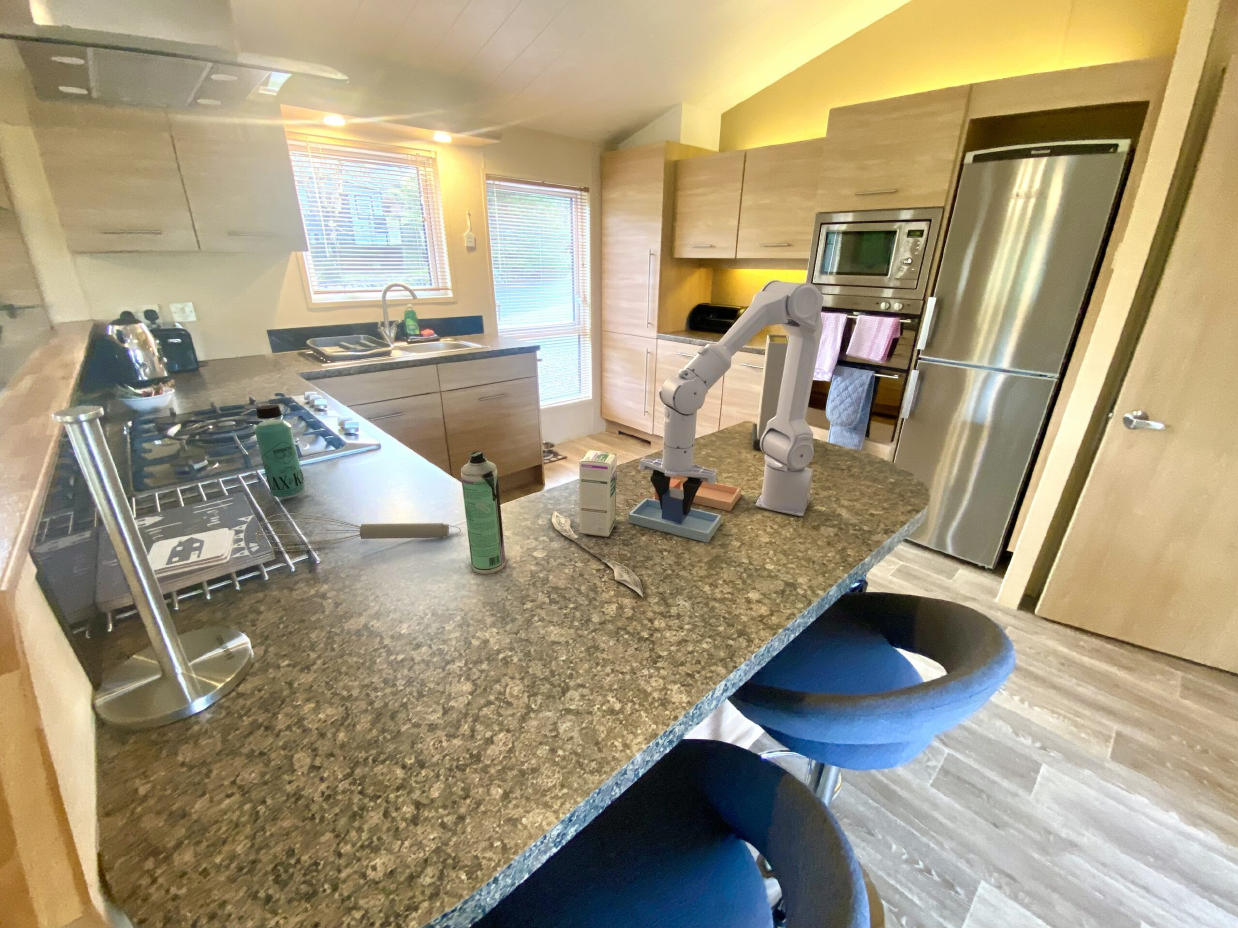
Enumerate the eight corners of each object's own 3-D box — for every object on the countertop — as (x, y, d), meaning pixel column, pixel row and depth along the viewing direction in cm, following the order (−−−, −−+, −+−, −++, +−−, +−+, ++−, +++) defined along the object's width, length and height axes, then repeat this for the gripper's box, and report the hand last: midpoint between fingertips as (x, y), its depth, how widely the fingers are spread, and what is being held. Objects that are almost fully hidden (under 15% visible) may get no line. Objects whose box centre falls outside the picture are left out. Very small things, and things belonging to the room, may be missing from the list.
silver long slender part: (556, 511, 103) (535, 518, 101) (556, 508, 103) (535, 516, 100) (664, 588, 80) (640, 600, 77) (664, 585, 80) (640, 597, 77)
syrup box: (609, 537, 94) (612, 463, 89) (578, 533, 95) (579, 459, 90) (615, 523, 99) (618, 452, 94) (585, 519, 100) (587, 449, 95)
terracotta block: (679, 502, 108) (680, 480, 106) (672, 509, 105) (673, 487, 103) (662, 498, 110) (662, 476, 108) (654, 505, 106) (655, 483, 105)
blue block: (688, 514, 100) (690, 491, 98) (681, 523, 97) (682, 499, 95) (669, 510, 102) (670, 487, 100) (661, 518, 98) (662, 495, 96)
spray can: (511, 559, 88) (502, 449, 80) (494, 576, 83) (482, 461, 75) (483, 553, 89) (472, 444, 82) (465, 570, 84) (450, 456, 77)
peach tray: (740, 495, 111) (741, 487, 110) (729, 511, 104) (730, 502, 104) (671, 481, 118) (671, 473, 117) (657, 494, 111) (657, 486, 111)
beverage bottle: (264, 500, 107) (238, 408, 100) (294, 488, 113) (271, 399, 106) (286, 506, 105) (261, 412, 98) (315, 493, 111) (293, 403, 103)
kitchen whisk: (459, 544, 92) (455, 512, 90) (253, 560, 87) (243, 527, 85) (463, 527, 98) (459, 497, 95) (270, 541, 93) (261, 510, 90)
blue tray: (721, 523, 99) (721, 515, 99) (707, 542, 93) (708, 533, 92) (645, 505, 106) (646, 497, 106) (628, 522, 100) (628, 513, 99)
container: (777, 443, 149) (790, 336, 142) (782, 455, 131) (796, 333, 125) (751, 441, 150) (762, 335, 144) (752, 452, 133) (765, 332, 126)
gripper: (633, 443, 93) (632, 510, 98) (710, 457, 87) (704, 528, 92) (649, 432, 99) (647, 496, 104) (722, 444, 93) (716, 511, 98)
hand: (675, 510), depth 99 cm, fingers closed on blue block, 4 cm apart
